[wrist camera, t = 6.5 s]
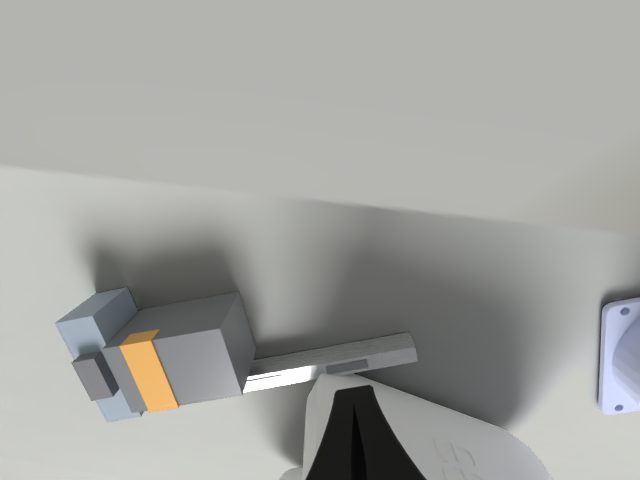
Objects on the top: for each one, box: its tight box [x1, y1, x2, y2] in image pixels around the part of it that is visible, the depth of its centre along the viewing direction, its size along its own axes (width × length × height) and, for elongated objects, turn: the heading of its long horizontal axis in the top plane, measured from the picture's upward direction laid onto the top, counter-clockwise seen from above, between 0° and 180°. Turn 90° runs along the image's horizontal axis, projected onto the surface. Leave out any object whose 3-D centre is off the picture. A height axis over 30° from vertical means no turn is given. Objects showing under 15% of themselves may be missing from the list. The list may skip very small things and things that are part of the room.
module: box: [102, 291, 256, 413], centre depth 19 cm, size 6×4×4 cm
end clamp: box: [55, 287, 144, 422], centre depth 19 cm, size 2×6×4 cm, turn 13°
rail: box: [244, 332, 418, 392], centre depth 21 cm, size 18×1×2 cm, turn 102°
